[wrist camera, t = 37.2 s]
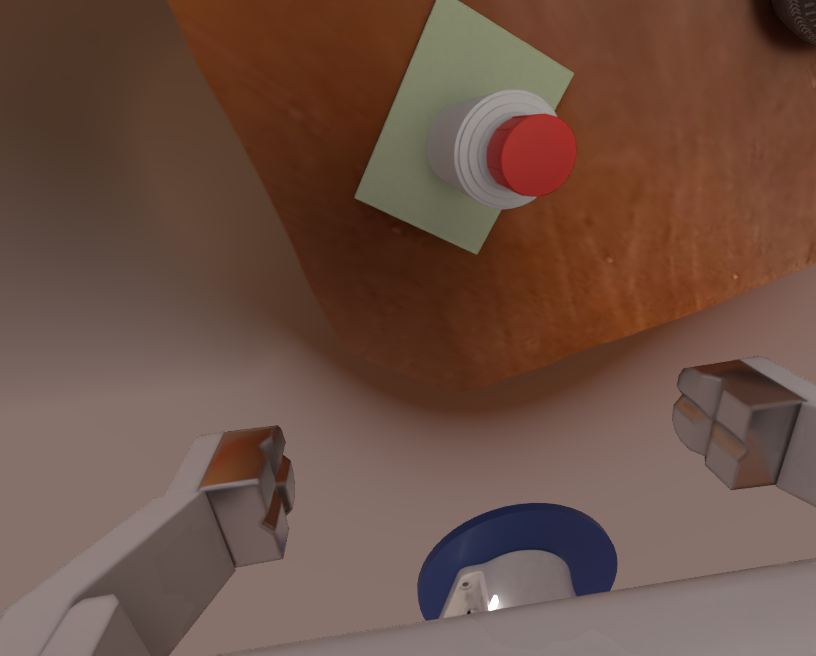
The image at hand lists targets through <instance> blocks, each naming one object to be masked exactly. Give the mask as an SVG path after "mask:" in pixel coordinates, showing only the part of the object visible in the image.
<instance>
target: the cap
mask: <svg viewBox="0 0 816 656" xmlns="http://www.w3.org/2000/svg"><path fill="white" fill-rule="evenodd" d="M576 149H577V148H576V141H575V137H574V134H573V132H572V130H571V129H570V127H569V126H568V125H567V124H566V123H565V122H564V121H563V120H562V119H560V118H558V117H556V116H554V115H550V114H546V113H545V114H533V115H522V116H513V117H512V118H511V119H509V120H507V121H505V122H504V123H503V124H501V125H500V126H499V127H498V128H496V131H495V132H494V133H493V135H492V137H491V139H490V141H489V144H488V146H487V156H486V158H487V168H488V169H489V172H490V174H491V176H492V177H493V179H494V180H495V181H496V183H497V184H499V185H501V186H503V187H505V188H507V189H509V190H511V191H512V192H515V193H517V194H520V195H522V196H530V197H538V196H543V195H546V194H549V193H551V192H553V191H554V190H556V189H557V188H559V187H560V186H561V185H562V184H563V183H564V182H565V180H566V179H567V178H568V176H569V175H570V173H571V171H572V169H573V166H574V164H575V160H576Z"/></svg>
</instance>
